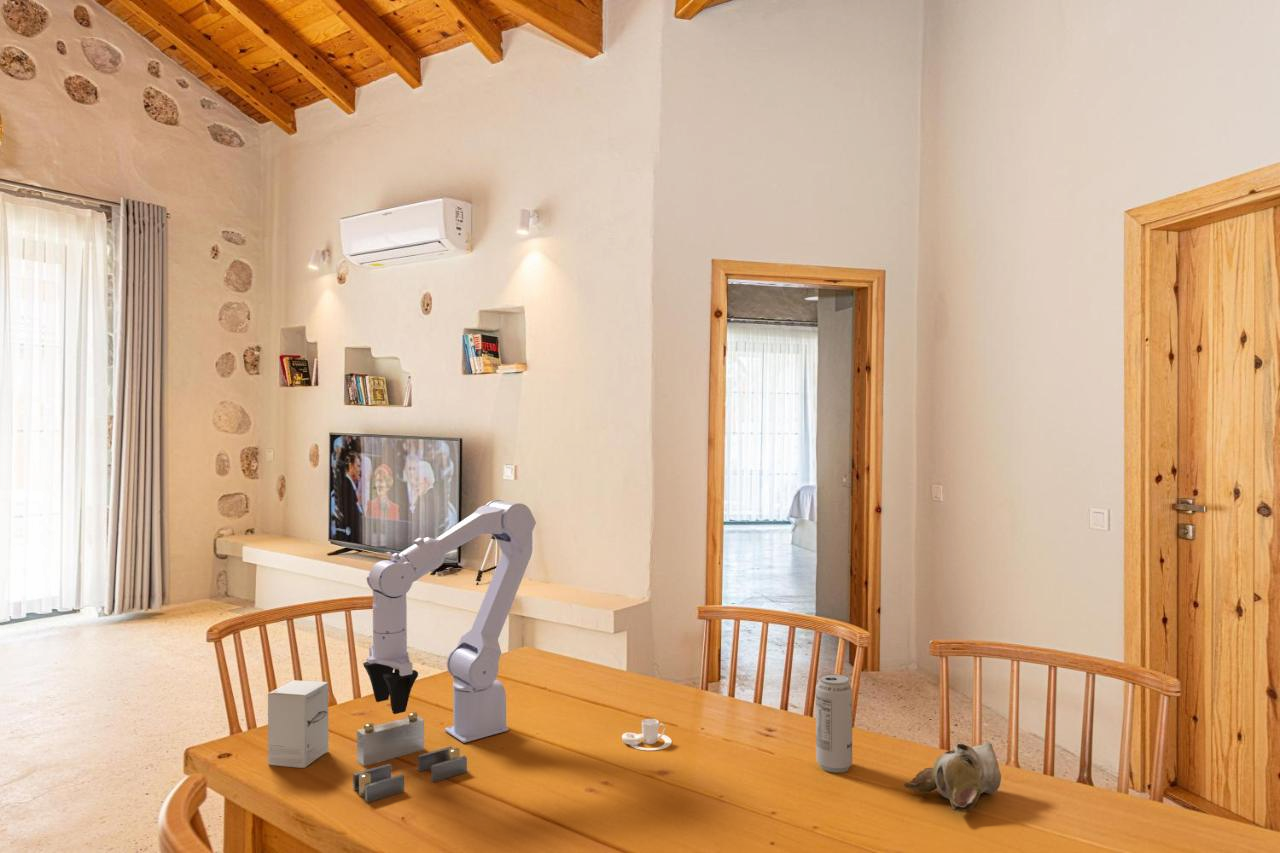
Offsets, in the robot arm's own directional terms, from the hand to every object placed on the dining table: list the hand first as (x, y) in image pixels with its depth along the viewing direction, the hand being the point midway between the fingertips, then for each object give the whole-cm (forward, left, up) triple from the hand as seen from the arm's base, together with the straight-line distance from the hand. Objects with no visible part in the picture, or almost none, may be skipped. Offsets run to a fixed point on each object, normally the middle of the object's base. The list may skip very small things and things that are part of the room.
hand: (390, 706), depth 145 cm
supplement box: (+13, -9, -9) cm, 18 cm away
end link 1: (+7, +12, -9) cm, 16 cm away
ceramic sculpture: (-62, +73, -9) cm, 96 cm away
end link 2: (-4, +12, -9) cm, 15 cm away
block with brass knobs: (0, 0, -9) cm, 9 cm away
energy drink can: (-56, +53, -9) cm, 78 cm away
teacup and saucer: (-39, +22, -9) cm, 46 cm away
